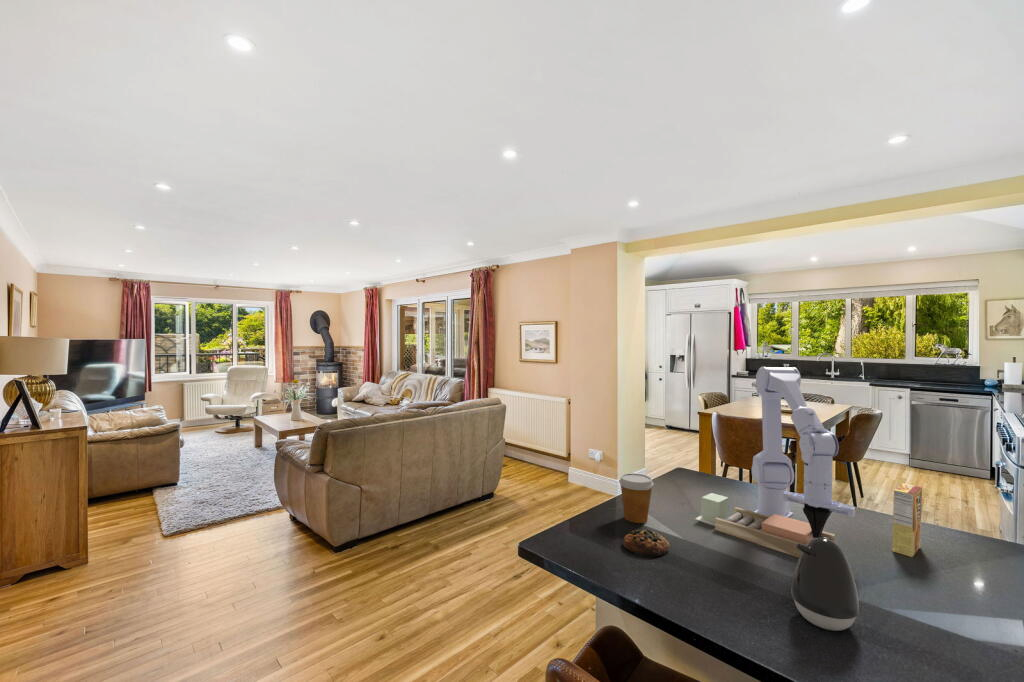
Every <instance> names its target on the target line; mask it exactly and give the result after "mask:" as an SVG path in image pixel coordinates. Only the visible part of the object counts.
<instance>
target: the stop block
mask: <svg viewBox="0 0 1024 682" xmlns="http://www.w3.org/2000/svg"><path fill="white" fill-rule="evenodd" d="M729 499H730V498H729V497H728V496H725V495H720V494H717V493H712V492H711V493H708V494H705V495H703V496H701V515H700V516H701V518H702V519H705V520H709V521H712V522H715V518H717V517H718V518H721V519H726V518H728V517H729V504H730V502H729V501H730V500H729Z"/></svg>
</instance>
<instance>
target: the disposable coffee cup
mask: <svg viewBox="0 0 1024 682" xmlns="http://www.w3.org/2000/svg"><path fill="white" fill-rule="evenodd" d="M618 482H619V484H620V491H621V497H622V509H623V517H624V518H625V519H626V520H628V521H630V522H634V523H643V524H646V523H647V522H648V517H649V512H650V511H649V510H650V504H651V497H652V491H653V487H654V482H653V478H652V477H651V476H649V475H646V474H642V473H635V472H633V473H632V472H631V473H624V474H621V476H620V479H619V480H618ZM625 519H624V520H625ZM626 520H625V521H626ZM628 521H627V522H628ZM630 522H629V523H630ZM645 522H646V523H645ZM634 523H633V524H634Z"/></svg>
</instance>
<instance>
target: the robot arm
mask: <svg viewBox="0 0 1024 682" xmlns="http://www.w3.org/2000/svg"><path fill="white" fill-rule="evenodd" d="M801 381H802V377H801V373H800V371H799V370H798V368H797V367H795V366H792V367H777V366H774V367H772V366H771V367H769V366H767V367H766V366H761V367H759V369H758V370H757V372H756V374H755V383H756V385H755V387H756V388H755V389H756V394H758V395H760V396H761V419H762V420H761V421H762V426H761V428H762V451H760V452H758V453H757V454H755V455H754V456H753V458H752V466H751V476H752V479H753V481H754V482H755V483H756V484H757V487H758V488H757V489H758V492H757V493H758V494H757V509H756V510H754V511H753V512H756V513H759V514H763V515H767V516H770V517H771V516H772V515H773V514H777V515H781V516H784V517H788V518H791V516H793V514H794V512H791V511H790V502H791V503H797V504H800V505H803V508H802V512H803V513H804V515H805V517H806V519H807V521H808V523H809V524H810V527H811V530H812V534H813V538H821V536H822V531H824V527H825V525H826V522H827V521H828V520H829V517H830V516H831V514H832V512H833V513H837V514H840V515H844V516H847V517H848V518H849V517H850V518H854V517H855V516H856V507H855V506H851V505H848V504H844V503H841V502H839V501H835V500H833V461H834V460H833V457H836V456H838V453H839V448H840V447H839V441H838V438H837V437H836V436H837V435H835V434H834V433H833V432H831V431H830V430H829V429H826V428H825V427H824V425H823V423H822V422H821V420H820V418H819V415H818V414H817V412H816V410H815V409H813V408H810V407H808V405H807V402H806V400H805V398H804V395H803V393H802V390H801V388H800V387H801V383H802V382H801ZM782 398H784V400H785V402H786V403H787V405H788V406H789V408H790V410H791V411H792V413H791V415H790V419H791V421H792V423H793V425H794V427H795V429H796V432H797V433H798V436H799V441H798V444H799V449H800V452H801V460H802V462H804V463H803V493H797V492H790V490H789V488H790V486H791V485H792V484H793V483H794V479H795V472H794V469H793V463H792V459H791V458H789V456H787V455H786V454H784V453H783V433H782V432H783V431H782V429H783V428H782V427H783V426H782V425H783V423H782V403H781V402H782Z"/></svg>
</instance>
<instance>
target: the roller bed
mask: <svg viewBox="0 0 1024 682" xmlns="http://www.w3.org/2000/svg"><path fill="white" fill-rule="evenodd" d="M769 517H770V516H767V515H763V514H759V513H756V512H754V511H752V510H748V509H745V508H741V507H738V506H736V507H734V509H733V514H732V515H730V516H728V518H726V519H721V518H718V517H717V518H715V522H712V521H709V520H705V519H702V518H701V515H699V516H697V517H696V518H694V521H698V522H702V523H705V524H708V525H711V526H714V531H717V532H720V533H724V534H727V535H729V536H732V537H737V538H739V539H742V540H745V541H748V542H751V543H754V544H756V545H759V546H762V547H765V548H768V549H772V550H773V551H774V550H775V551H777V552H781V553H784V554H787V555H790V556H793V557H794V558H795V557H796V558H798V559H799V557H800V555H801V553H802V551H801V550H799V549H797V544H802V545H806V544H803V543H800V542H797V541H793V540H790V539H787V538H783V537H780V536H777V535H774V534H770V533H767V532H764V531H762V522H763V521H765V520H766V519H768V518H769ZM821 538H827V539H829V540H832V541H833V542H835V543H836V534H834V533H830V532H828V531H824V530H823V531H822V536H821Z"/></svg>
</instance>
